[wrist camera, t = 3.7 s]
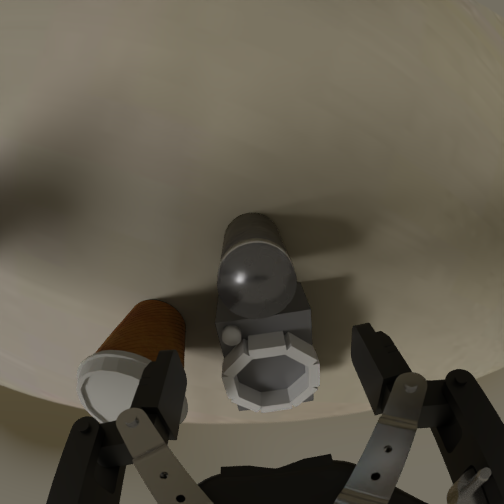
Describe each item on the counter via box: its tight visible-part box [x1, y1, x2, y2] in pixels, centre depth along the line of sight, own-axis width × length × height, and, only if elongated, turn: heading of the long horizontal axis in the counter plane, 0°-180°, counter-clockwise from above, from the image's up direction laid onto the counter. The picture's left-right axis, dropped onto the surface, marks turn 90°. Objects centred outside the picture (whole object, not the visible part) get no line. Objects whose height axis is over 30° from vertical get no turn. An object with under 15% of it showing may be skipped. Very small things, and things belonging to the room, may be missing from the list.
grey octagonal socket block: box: [215, 282, 320, 413], centre depth 28 cm, size 12×8×7 cm
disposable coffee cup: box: [76, 300, 188, 424], centre depth 24 cm, size 10×10×12 cm
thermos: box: [217, 213, 297, 319], centre depth 23 cm, size 5×5×9 cm
